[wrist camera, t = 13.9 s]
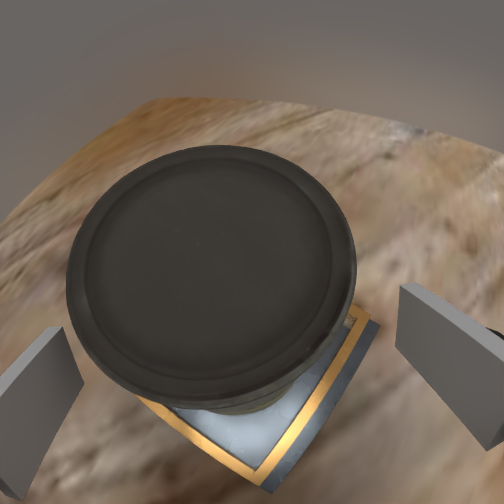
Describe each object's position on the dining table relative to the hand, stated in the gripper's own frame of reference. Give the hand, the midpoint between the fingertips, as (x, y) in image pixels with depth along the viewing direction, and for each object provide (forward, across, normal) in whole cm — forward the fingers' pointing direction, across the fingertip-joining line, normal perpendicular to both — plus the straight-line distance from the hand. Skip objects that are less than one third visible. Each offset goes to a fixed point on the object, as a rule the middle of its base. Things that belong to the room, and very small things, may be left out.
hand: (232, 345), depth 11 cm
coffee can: (+10, 0, -6) cm, 12 cm away
